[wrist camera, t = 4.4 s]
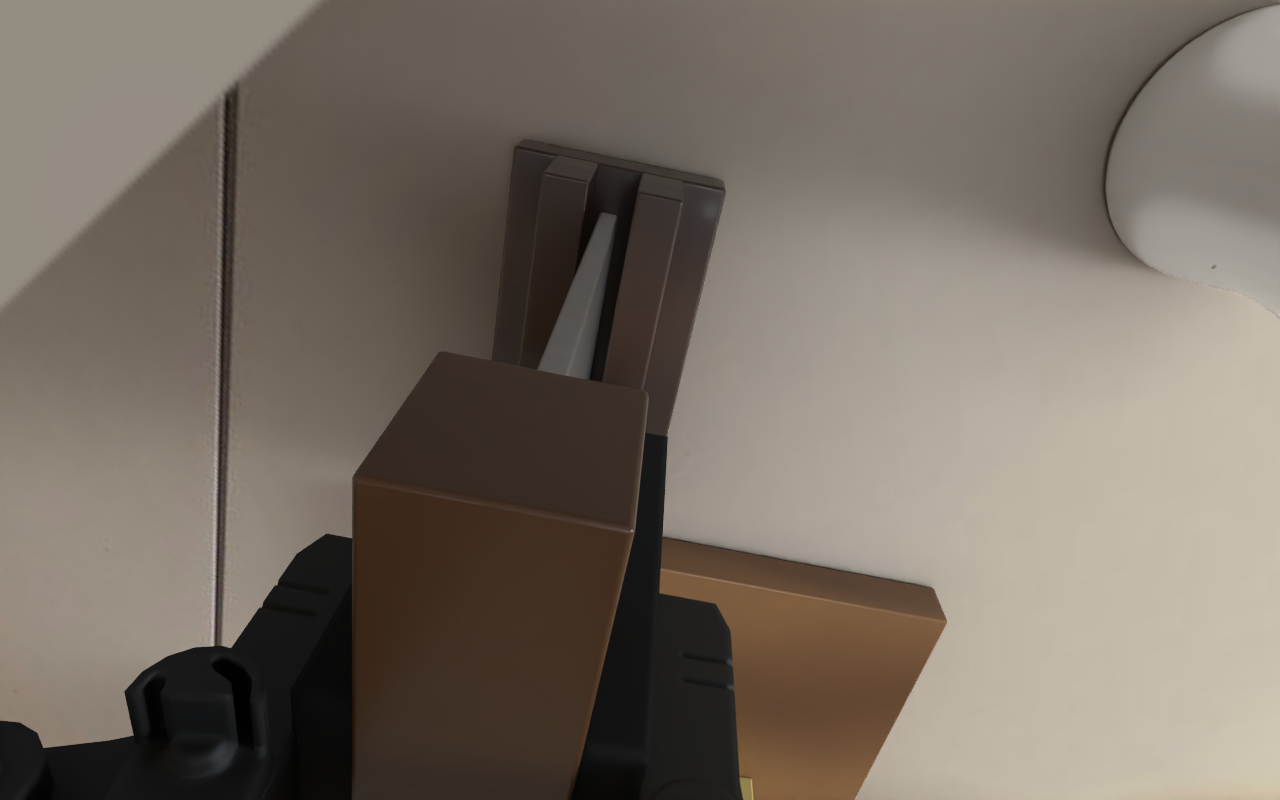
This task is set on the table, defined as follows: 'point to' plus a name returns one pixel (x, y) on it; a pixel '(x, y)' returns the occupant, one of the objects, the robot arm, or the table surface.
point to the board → (809, 662)
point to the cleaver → (493, 566)
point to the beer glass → (1207, 162)
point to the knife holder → (639, 268)
